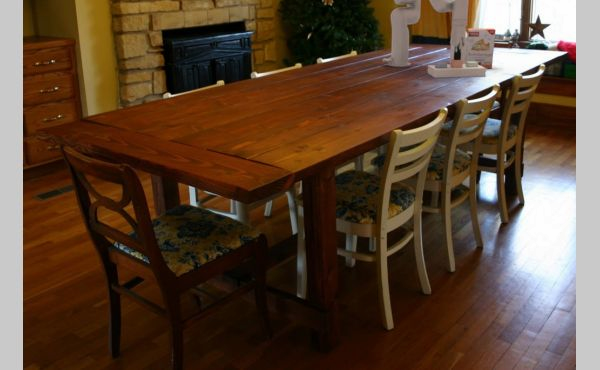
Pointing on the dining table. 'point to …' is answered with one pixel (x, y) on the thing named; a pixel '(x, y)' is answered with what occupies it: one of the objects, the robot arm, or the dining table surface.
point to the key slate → (441, 65)
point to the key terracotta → (456, 63)
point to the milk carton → (463, 51)
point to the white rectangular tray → (456, 71)
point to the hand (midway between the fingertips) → (457, 59)
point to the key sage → (471, 64)
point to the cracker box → (480, 46)
